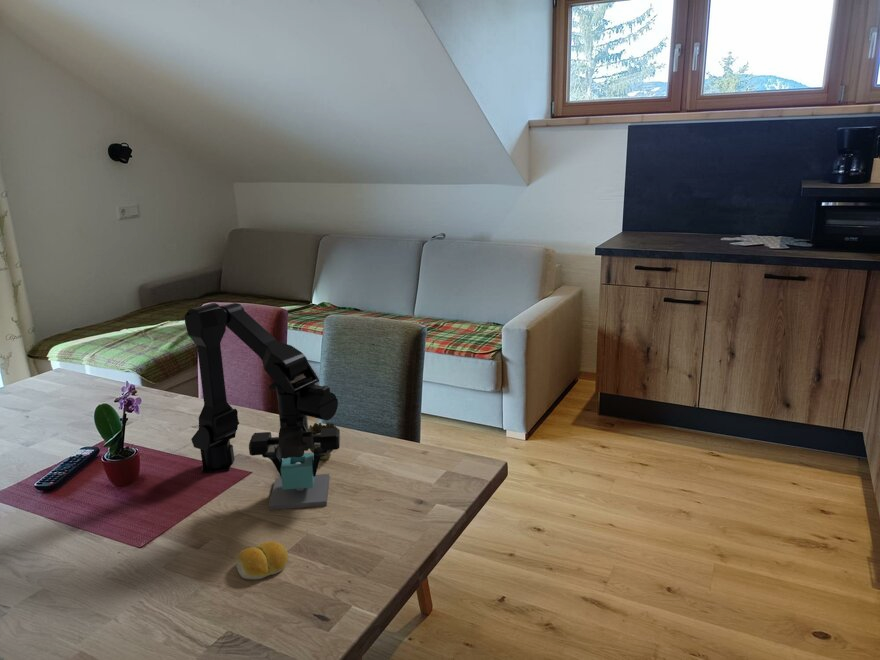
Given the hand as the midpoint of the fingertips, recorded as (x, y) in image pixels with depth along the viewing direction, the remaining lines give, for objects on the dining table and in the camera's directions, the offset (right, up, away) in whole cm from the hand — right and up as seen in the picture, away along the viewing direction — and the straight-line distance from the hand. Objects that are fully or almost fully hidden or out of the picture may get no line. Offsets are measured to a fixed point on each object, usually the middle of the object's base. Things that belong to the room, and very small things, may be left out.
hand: (298, 476), depth 142 cm
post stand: (0, -4, +1) cm, 4 cm away
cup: (+2, +1, +17) cm, 17 cm away
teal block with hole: (0, -1, 0) cm, 1 cm away
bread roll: (-2, -11, -23) cm, 26 cm away
